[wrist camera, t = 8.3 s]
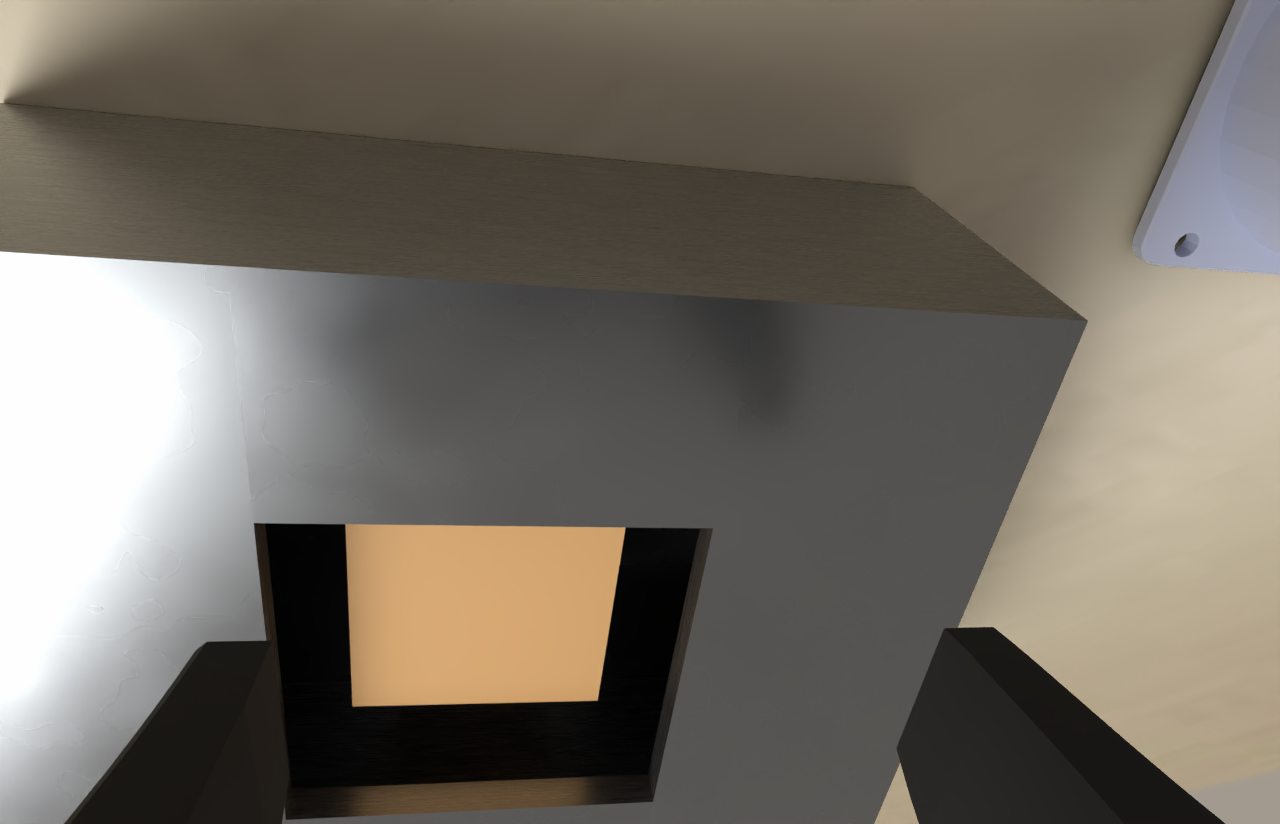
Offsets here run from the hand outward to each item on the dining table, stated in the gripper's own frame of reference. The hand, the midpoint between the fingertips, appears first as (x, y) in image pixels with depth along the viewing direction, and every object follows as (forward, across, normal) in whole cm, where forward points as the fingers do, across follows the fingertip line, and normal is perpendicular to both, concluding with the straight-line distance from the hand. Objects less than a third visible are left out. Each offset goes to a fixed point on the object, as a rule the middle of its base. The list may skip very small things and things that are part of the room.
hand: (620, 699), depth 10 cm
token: (+9, +1, +4) cm, 10 cm away
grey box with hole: (+10, +1, +4) cm, 10 cm away
